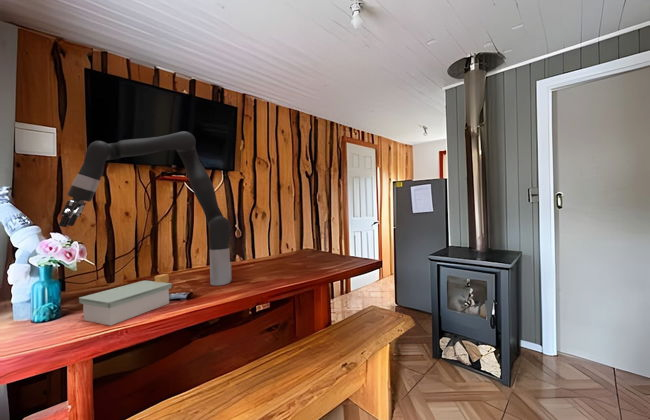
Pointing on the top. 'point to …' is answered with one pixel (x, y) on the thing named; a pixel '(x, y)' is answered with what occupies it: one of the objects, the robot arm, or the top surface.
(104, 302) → the lid
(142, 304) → the tub
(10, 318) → the top surface
